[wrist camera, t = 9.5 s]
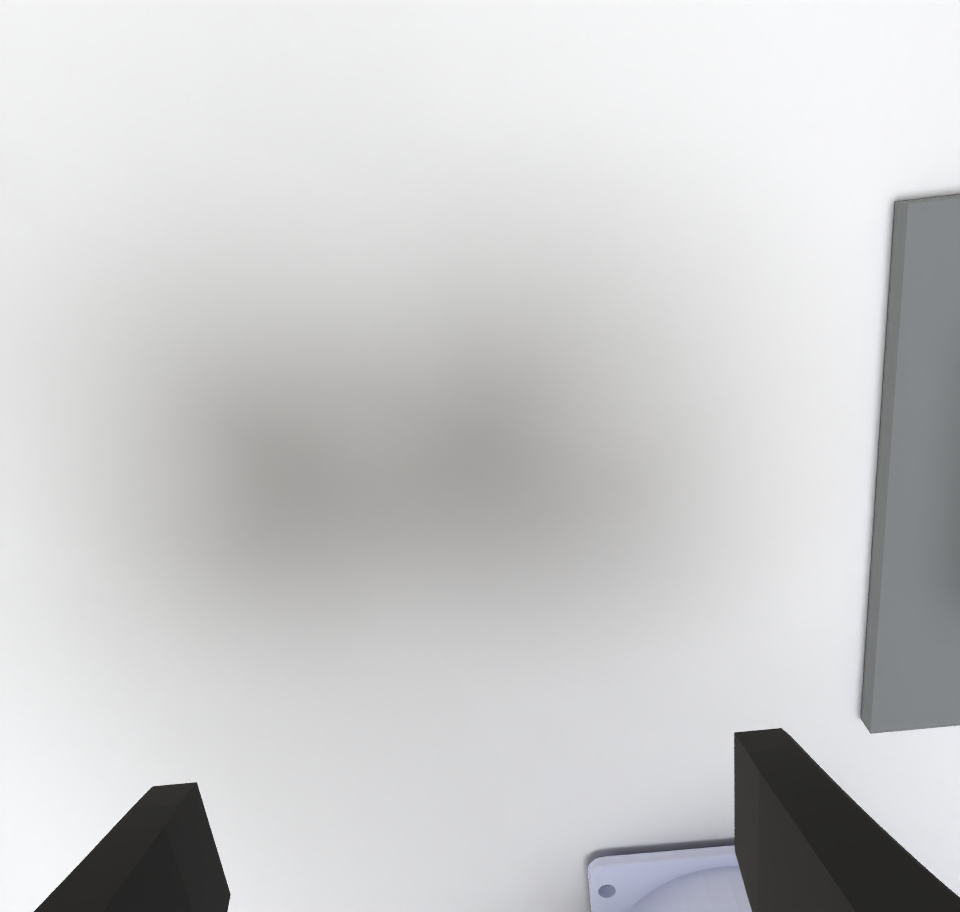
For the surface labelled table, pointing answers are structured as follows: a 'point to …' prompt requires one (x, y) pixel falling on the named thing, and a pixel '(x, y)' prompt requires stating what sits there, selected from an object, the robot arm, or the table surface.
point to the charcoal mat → (918, 482)
